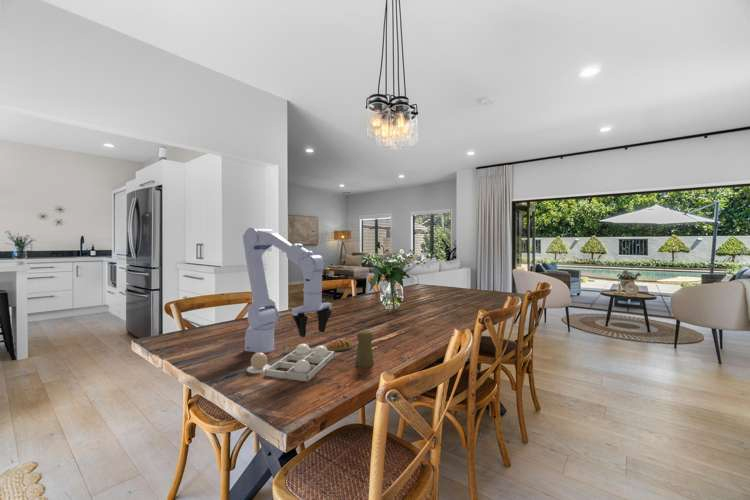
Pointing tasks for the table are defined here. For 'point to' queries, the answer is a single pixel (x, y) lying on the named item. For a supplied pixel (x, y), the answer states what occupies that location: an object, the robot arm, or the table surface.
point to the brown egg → (258, 360)
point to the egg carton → (292, 356)
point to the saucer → (253, 370)
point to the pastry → (340, 345)
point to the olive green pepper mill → (364, 349)
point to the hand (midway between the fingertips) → (312, 333)
